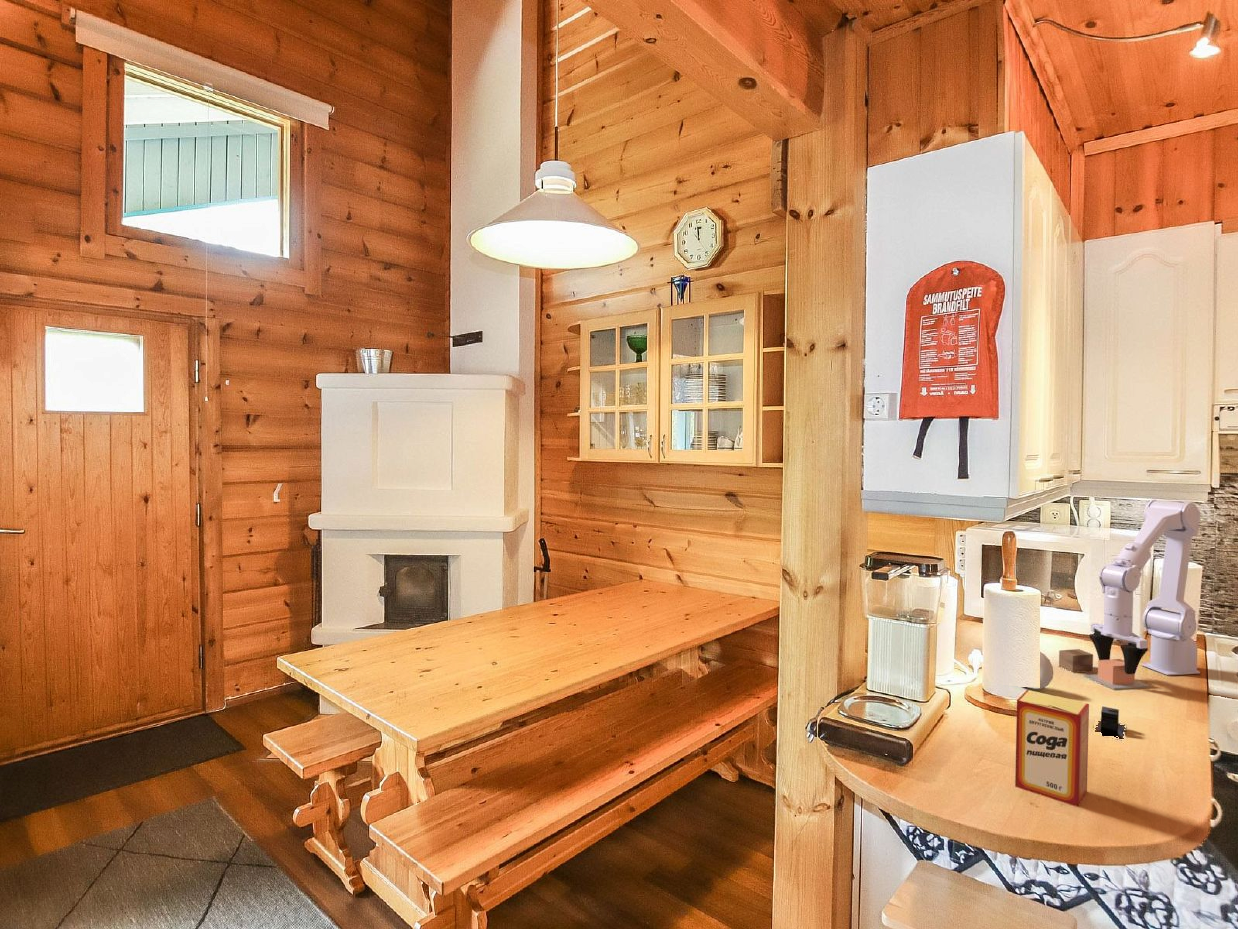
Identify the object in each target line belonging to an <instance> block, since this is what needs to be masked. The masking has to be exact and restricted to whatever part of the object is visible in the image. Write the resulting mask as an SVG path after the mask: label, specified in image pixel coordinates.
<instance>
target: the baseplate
mask: <svg viewBox="0 0 1238 929" xmlns="http://www.w3.org/2000/svg"><path fill="white" fill-rule="evenodd" d="M1083 678H1086V679H1088V678H1089V679H1088V680H1090V679H1091V681H1093V682H1095V681H1096V682H1095V683H1097V682H1098V684H1099V683H1100V685H1102V684H1103V685H1102V686H1104V685H1105V686H1104V687H1107V688H1109V689H1111V690H1114V691H1116V690H1133V689H1147V688H1148V689H1149V688H1151V685H1150V684H1146V683H1145V682H1142V681H1140V680H1137V679H1135V682H1134V683H1125V684H1111V683H1109V682H1106V681H1104V680H1102V679H1099V678H1098V673H1097V674H1084V675H1083Z"/></svg>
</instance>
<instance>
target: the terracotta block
mask: <svg viewBox="0 0 1238 929" xmlns="http://www.w3.org/2000/svg"><path fill="white" fill-rule="evenodd" d="M1097 662H1098V663H1097V664H1098V665H1097V674H1098V678H1099V679H1102V680H1104V681H1106V682H1109V683H1111V684H1125V683H1134V682H1135V680H1136V678H1135V676H1136V675H1135V674H1136V673H1135V674H1126V673H1125V666H1124V659H1121V658H1113V659H1112V658H1110V660H1099V659H1098V660H1097Z"/></svg>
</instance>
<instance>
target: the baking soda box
mask: <svg viewBox="0 0 1238 929" xmlns="http://www.w3.org/2000/svg"><path fill="white" fill-rule="evenodd" d="M1089 722H1090V703H1087V702H1082V701H1080V700H1074V699H1070V698H1066V697H1063V696H1058V695H1051V694H1048V693H1042V692H1038V691H1036V690H1035V691H1034V690H1031V689H1027V690H1025V692H1023V694H1022V695H1020V697H1019V698H1018V699H1016V727H1015V728H1016V729H1015V731H1016V733H1015V734H1016V739H1015V772H1014V773H1015V776H1014V778H1015V779H1014V787H1016V788H1019V789H1021V790H1025V791H1028V792H1030V793H1031V792H1032V793H1034V794H1037V795H1040V794H1041V795H1040V796H1044V797H1046V798H1049V799H1053V800H1055V801H1059V802H1062V803H1066V804H1068V805H1072V806H1074V807H1078V808H1079V806H1080V805H1081V803H1082V802H1083V799H1084V798H1085V796H1086V794H1087V792H1088V767H1089V766H1088V762H1089V761H1088V759H1089V756H1088V755H1089V754H1088V753H1089V724H1090V723H1089Z"/></svg>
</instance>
